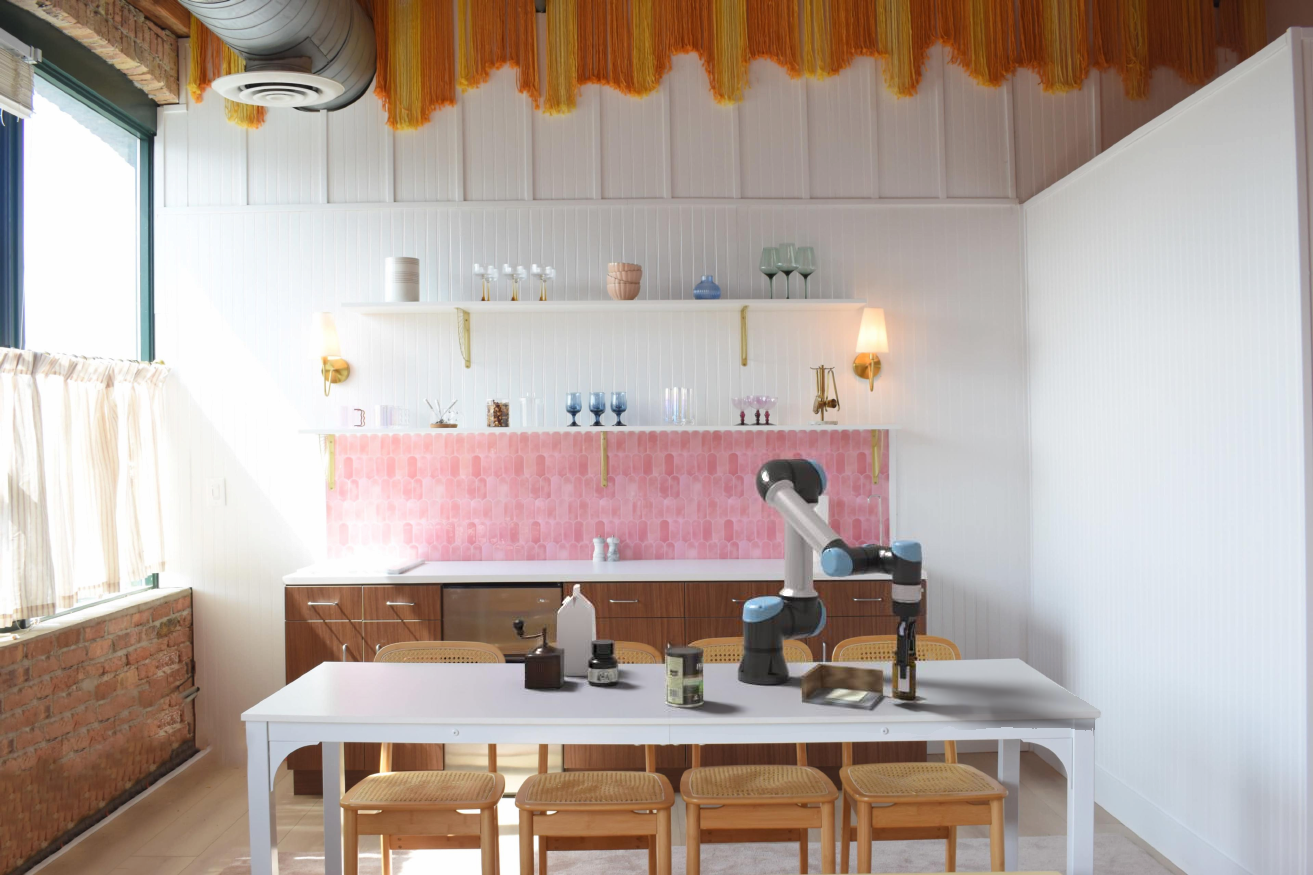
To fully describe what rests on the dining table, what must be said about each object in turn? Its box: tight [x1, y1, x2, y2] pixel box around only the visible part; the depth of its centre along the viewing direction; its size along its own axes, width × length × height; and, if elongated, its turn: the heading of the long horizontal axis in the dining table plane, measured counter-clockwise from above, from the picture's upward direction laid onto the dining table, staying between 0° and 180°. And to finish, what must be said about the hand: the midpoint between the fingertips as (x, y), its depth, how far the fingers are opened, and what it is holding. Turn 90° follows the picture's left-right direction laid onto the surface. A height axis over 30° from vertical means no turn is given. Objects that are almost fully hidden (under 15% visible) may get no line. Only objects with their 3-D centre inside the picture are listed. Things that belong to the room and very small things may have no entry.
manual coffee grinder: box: [511, 618, 566, 690], centre depth 266 cm, size 16×11×18 cm
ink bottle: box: [587, 639, 619, 687], centre depth 266 cm, size 10×9×12 cm
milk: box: [555, 584, 597, 677], centre depth 282 cm, size 12×12×26 cm
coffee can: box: [664, 645, 705, 709], centre depth 245 cm, size 10×10×14 cm
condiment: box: [885, 649, 928, 703], centre depth 241 cm, size 7×8×12 cm
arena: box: [801, 663, 884, 711], centre depth 248 cm, size 18×16×7 cm
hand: (906, 687), depth 242 cm, fingers closed on condiment, 6 cm apart
